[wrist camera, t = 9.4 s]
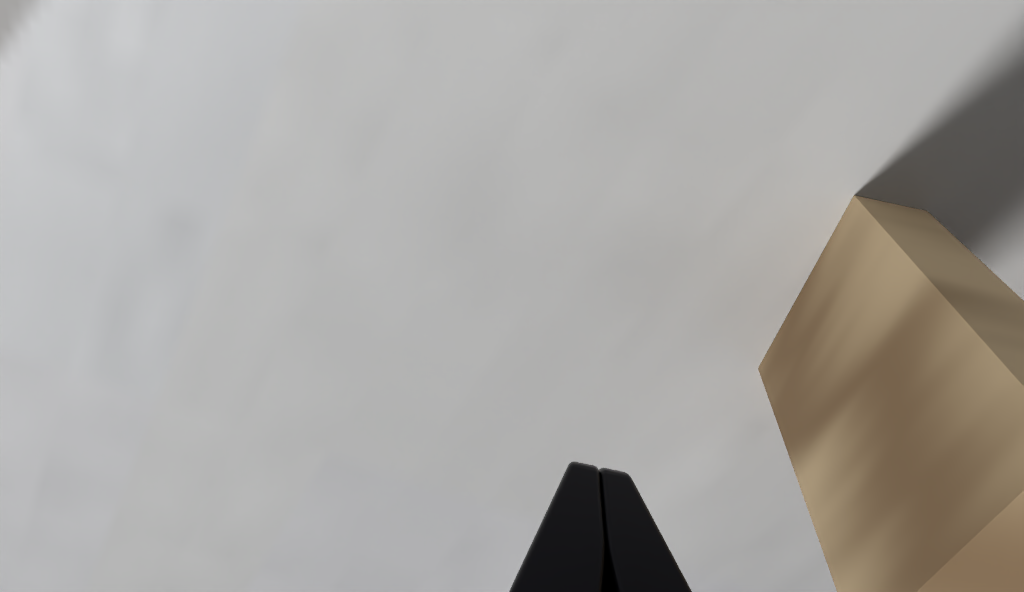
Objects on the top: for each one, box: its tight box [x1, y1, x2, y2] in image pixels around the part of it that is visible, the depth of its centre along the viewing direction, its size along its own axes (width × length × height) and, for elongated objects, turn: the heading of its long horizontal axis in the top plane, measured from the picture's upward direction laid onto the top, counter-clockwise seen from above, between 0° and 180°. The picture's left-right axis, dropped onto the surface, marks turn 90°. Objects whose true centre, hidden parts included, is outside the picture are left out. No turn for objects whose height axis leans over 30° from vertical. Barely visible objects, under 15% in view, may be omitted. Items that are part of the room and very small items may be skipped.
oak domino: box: [758, 195, 1024, 592], centre depth 11 cm, size 5×2×7 cm, turn 170°
